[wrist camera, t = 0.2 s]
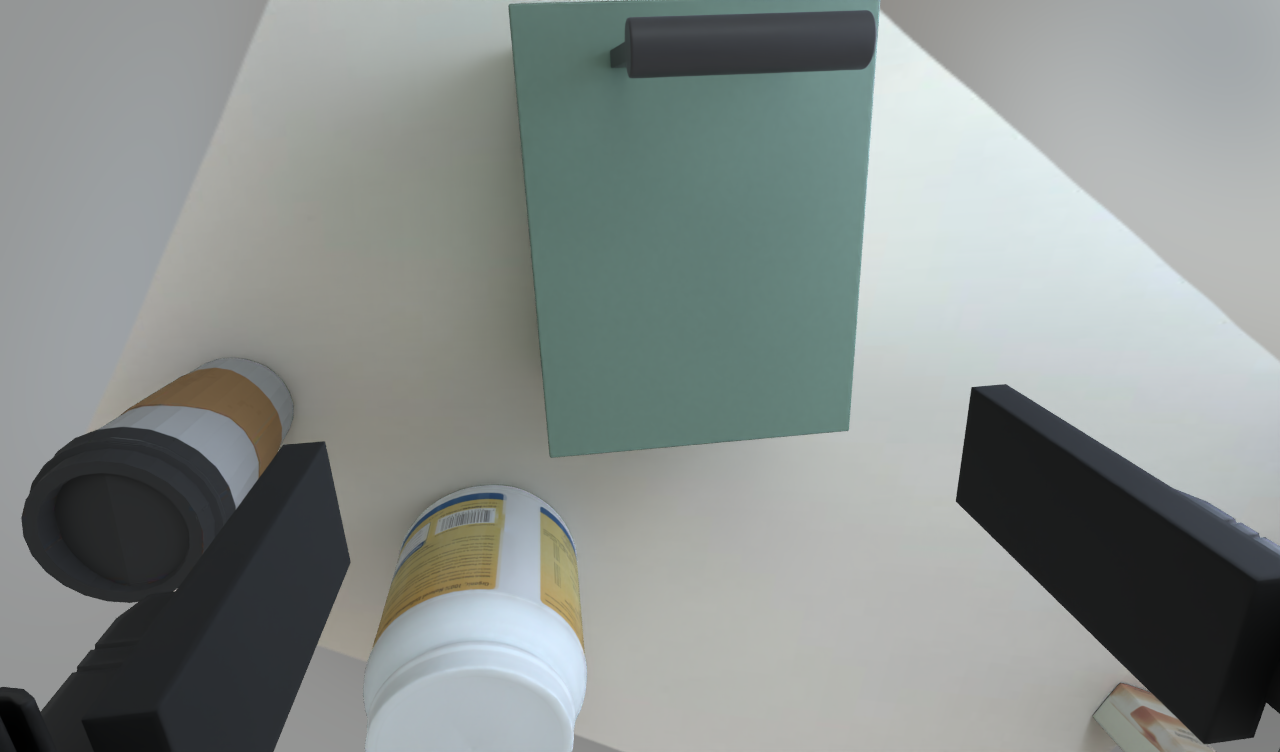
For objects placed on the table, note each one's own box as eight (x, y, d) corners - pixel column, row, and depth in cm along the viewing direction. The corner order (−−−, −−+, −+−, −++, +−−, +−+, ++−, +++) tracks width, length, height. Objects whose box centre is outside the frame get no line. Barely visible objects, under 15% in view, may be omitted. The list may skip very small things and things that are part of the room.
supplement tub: (383, 602, 53) (316, 818, 37) (429, 457, 49) (376, 627, 33) (545, 637, 56) (547, 851, 40) (600, 502, 52) (625, 679, 36)
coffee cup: (182, 461, 47) (32, 616, 33) (159, 337, 44) (-16, 450, 30) (319, 460, 48) (229, 608, 34) (305, 339, 45) (201, 448, 31)
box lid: (508, 5, 30) (495, -31, 22) (873, -5, 32) (1001, -42, 23) (549, 451, 38) (552, 560, 29) (843, 425, 40) (931, 521, 31)
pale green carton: (1160, 694, 66) (1261, 792, 57) (1130, 729, 68) (1225, 831, 58) (1118, 679, 65) (1215, 777, 56) (1089, 715, 66) (1178, 817, 57)
